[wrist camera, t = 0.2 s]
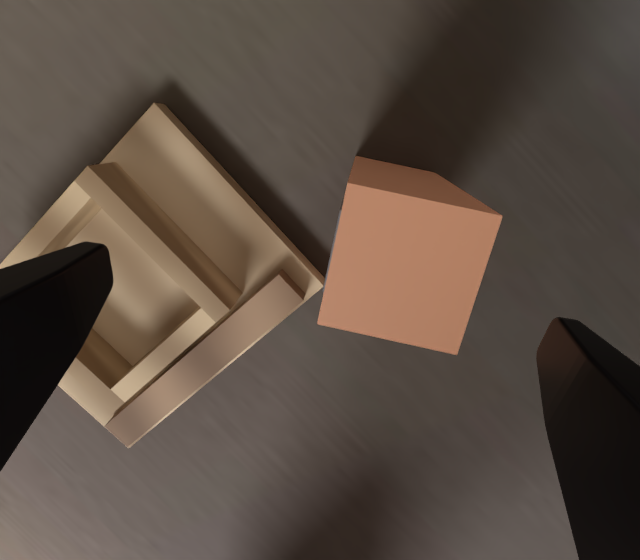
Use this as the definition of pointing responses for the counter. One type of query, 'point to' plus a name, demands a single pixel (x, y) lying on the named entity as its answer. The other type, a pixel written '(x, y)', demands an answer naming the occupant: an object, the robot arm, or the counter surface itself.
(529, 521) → the counter surface
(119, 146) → the jig
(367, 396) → the counter surface
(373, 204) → the block
